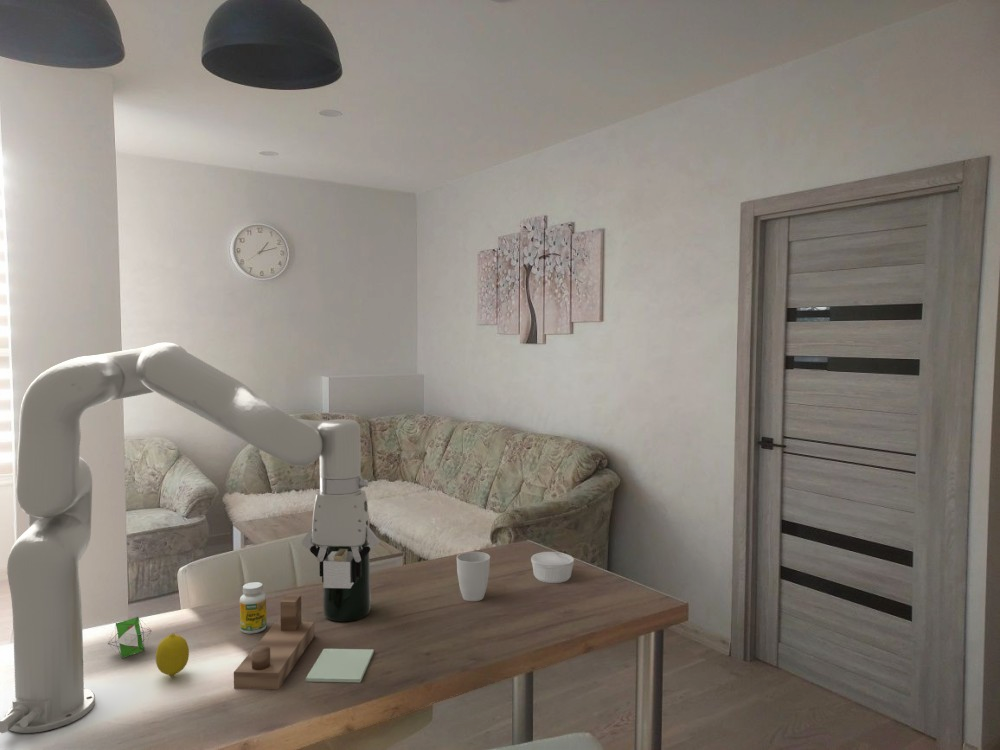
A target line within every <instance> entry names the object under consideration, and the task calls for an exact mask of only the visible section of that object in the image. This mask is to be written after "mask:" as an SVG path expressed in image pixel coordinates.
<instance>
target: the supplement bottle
mask: <svg viewBox="0 0 1000 750" xmlns="http://www.w3.org/2000/svg"><path fill="white" fill-rule="evenodd" d="M263 590H264V588H263V583H262V582H258V581H257V582H255V581H254V582H253V581H252V582H248V583H245V584H243V586H242V593H243V594H242V595H241V596H240V598H239V623H240V624H239V625H240V626H239V628H240V631H241V632H242V633H244V634H249V635H251V634H257V633H260V632H262V631H265V630H266V628H267V625H268V624H267V618H268V617H267V595H266V594H265V592H263Z"/></svg>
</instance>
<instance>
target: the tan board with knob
mask: <svg viewBox="0 0 1000 750" xmlns="http://www.w3.org/2000/svg"><path fill="white" fill-rule="evenodd" d="M314 637H315V621H302V594H286V595H284V597H283V598H282V600H280V621H278V620H276V621H275V622H274V623H273V625H272V626H271V627H270V628H269V629H268V630H267V632H266V633H265V634H264V635H263V636H262V638H261V639H260V640H259V641H258V643H257V644H256V645H255V646H254V647H253V648H252V650H251V651H250V652H249V654H247V656H246V657H245V658H244V659H243V660H242V662H241V663H240V664H239V665H237V668H236V669H234V671H233V689H236V690H237V689H238V690H239V689H240V690H243V689H244V690H279V689H280V688H281V686H282V685H283V684H284V682H285V681H286V678H287V677H288V675H289V674H290V673H291V671H292V670H293V668H294V667H295V666H296V664H297V663H298V661H299V659H300V658H301V657H302V655H303V654H304V652H305V651H306V649H307V648H308V646H309V645H310V643H311V641H312V640H313V639H314ZM304 650H305V651H304Z"/></svg>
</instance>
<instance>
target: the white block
mask: <svg viewBox="0 0 1000 750" xmlns="http://www.w3.org/2000/svg"><path fill="white" fill-rule="evenodd" d="M353 561H354V556H353V553H352V552H347V549H339V551H332V552H331V553H330V554H329V555H328V557H327V558H326V559H325V560H324V561H323V581H324V588H351V587H352V585H353V584H354V583H353V582H352V563H353Z"/></svg>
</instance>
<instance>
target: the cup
mask: <svg viewBox="0 0 1000 750" xmlns="http://www.w3.org/2000/svg"><path fill="white" fill-rule="evenodd" d="M490 559H491V555H490V554H488V553H486V552H481V551H465V552H462V553H459V554H457V555H456V572H457V573H456V574H457V579H458V584H459V591H460V593H461V596H462V599H463V600H464V601H468V602H479V601H481V600H483V599H484V598H485V594H486V591H487V587H488V584H489V583H488V582H489V577H490V563H491V562H490V561H491V560H490Z"/></svg>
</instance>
